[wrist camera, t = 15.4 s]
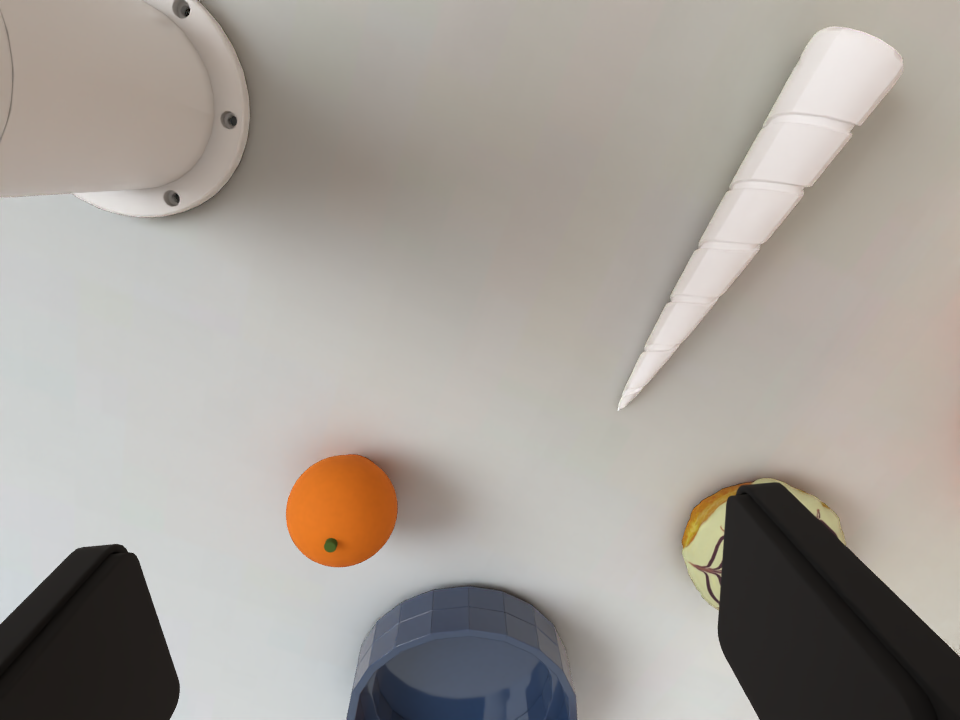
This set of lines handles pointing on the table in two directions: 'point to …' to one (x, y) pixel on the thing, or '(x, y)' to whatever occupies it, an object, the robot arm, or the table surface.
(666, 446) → the table surface
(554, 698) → the blue bowl
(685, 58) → the table surface
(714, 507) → the decorated donut
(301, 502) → the orange
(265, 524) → the table surface
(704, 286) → the unicorn horn
